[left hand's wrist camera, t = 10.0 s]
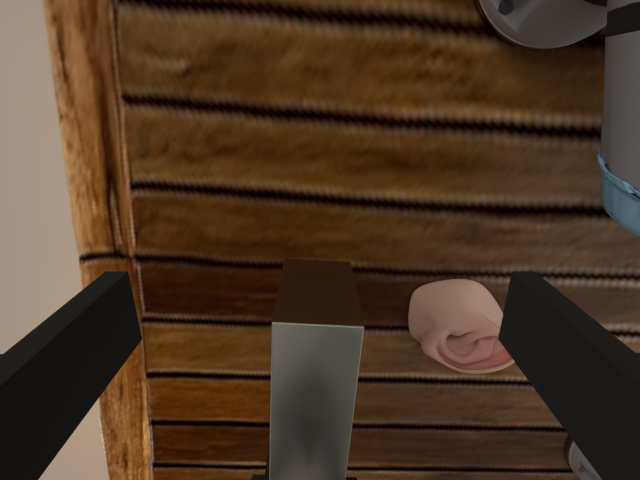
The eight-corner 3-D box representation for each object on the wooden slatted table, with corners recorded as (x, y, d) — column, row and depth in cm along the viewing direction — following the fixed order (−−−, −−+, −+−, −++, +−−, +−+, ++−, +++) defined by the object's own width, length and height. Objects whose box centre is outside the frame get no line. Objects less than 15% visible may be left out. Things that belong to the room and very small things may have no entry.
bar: (284, 258, 27) (271, 322, 19) (350, 261, 27) (364, 326, 19) (278, 468, 35) (267, 575, 27) (329, 470, 35) (333, 576, 27)
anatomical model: (400, 315, 41) (500, 274, 39) (393, 297, 44) (484, 258, 43) (439, 397, 45) (530, 363, 43) (430, 375, 49) (513, 343, 47)
